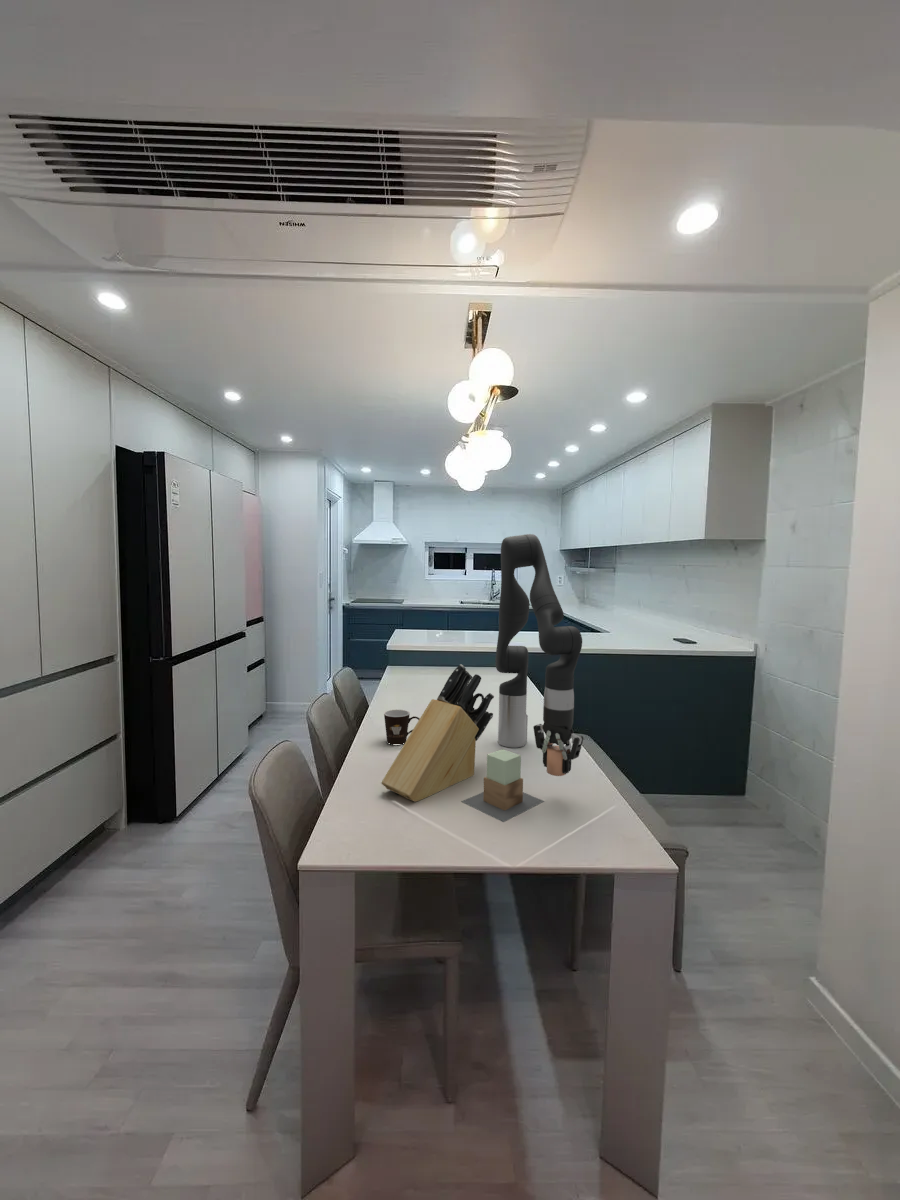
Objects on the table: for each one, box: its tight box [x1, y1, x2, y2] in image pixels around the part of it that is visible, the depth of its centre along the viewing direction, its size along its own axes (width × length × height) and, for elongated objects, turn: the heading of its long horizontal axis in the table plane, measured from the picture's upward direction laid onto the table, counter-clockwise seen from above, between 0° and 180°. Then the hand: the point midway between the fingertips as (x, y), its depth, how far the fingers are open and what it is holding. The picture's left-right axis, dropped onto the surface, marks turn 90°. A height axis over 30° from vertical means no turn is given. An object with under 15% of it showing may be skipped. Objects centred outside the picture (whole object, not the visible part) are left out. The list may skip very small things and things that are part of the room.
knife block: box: [380, 663, 495, 803], centre depth 144 cm, size 11×35×31 cm, turn 138°
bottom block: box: [483, 776, 524, 811], centre depth 131 cm, size 7×7×6 cm
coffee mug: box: [383, 709, 421, 745], centre depth 174 cm, size 12×9×10 cm
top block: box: [486, 748, 522, 785], centre depth 130 cm, size 6×6×6 cm
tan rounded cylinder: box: [546, 745, 567, 777], centre depth 132 cm, size 5×5×6 cm
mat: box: [460, 791, 545, 823], centre depth 131 cm, size 16×14×1 cm
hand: (556, 769), depth 133 cm, fingers closed on tan rounded cylinder, 5 cm apart
